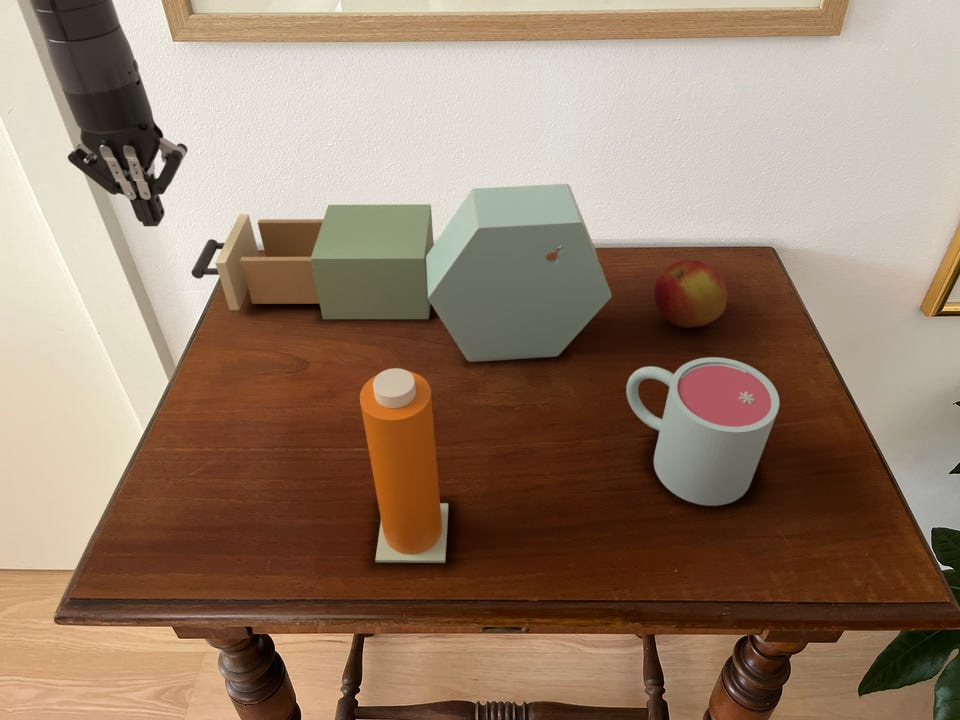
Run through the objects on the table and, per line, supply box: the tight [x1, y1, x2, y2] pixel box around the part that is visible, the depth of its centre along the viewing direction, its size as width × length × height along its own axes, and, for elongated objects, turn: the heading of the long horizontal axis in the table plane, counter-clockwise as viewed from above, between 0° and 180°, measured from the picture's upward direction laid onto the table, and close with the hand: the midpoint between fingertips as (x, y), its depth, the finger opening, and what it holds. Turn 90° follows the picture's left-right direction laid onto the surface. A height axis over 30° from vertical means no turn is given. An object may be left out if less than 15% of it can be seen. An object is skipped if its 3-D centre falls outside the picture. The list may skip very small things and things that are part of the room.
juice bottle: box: [359, 367, 442, 554], centre depth 58 cm, size 5×5×18 cm
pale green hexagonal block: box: [426, 183, 613, 363], centre depth 78 cm, size 17×8×21 cm
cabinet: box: [311, 203, 435, 320], centre depth 88 cm, size 13×12×9 cm
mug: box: [625, 356, 780, 507], centre depth 68 cm, size 14×9×10 cm
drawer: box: [190, 213, 324, 311], centre depth 89 cm, size 16×11×7 cm
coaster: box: [375, 502, 449, 564], centre depth 64 cm, size 6×6×1 cm
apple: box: [653, 259, 728, 329], centre depth 83 cm, size 8×8×8 cm
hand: (153, 222), depth 85 cm, fingers closed
